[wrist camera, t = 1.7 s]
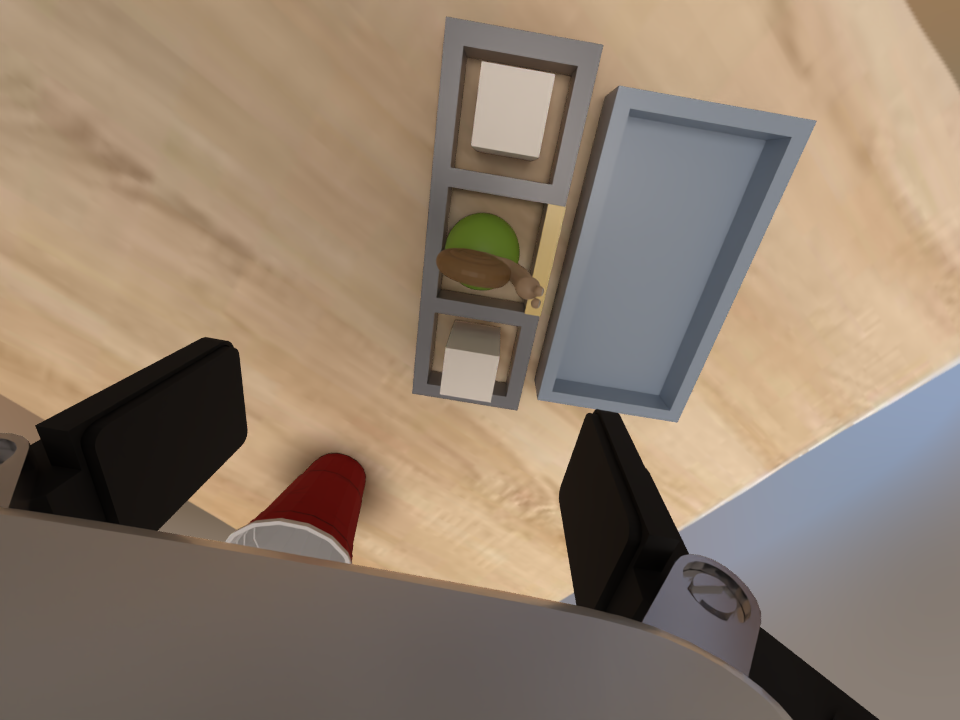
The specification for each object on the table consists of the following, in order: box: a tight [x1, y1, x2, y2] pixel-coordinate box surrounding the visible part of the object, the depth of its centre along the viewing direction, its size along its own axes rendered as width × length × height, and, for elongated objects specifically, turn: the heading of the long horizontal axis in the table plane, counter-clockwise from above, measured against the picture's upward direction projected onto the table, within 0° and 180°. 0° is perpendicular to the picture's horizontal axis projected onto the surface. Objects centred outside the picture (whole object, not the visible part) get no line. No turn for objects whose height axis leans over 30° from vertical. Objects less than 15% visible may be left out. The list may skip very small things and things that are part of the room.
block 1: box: [440, 320, 500, 403], centre depth 32 cm, size 4×4×6 cm
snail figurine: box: [436, 213, 544, 309], centre depth 25 cm, size 5×6×12 cm
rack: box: [412, 17, 603, 410], centre depth 29 cm, size 26×9×3 cm, turn 171°
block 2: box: [471, 61, 555, 161], centre depth 24 cm, size 4×4×6 cm
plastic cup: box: [226, 453, 366, 564], centre depth 36 cm, size 11×11×12 cm
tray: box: [535, 86, 817, 422], centre depth 29 cm, size 22×12×4 cm, turn 171°
